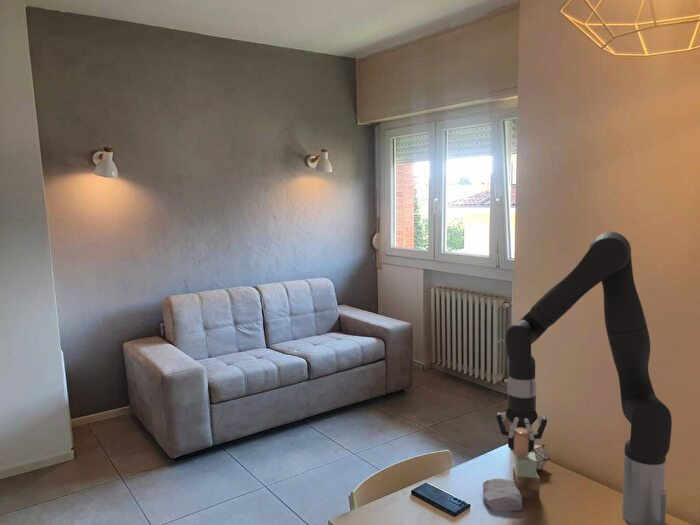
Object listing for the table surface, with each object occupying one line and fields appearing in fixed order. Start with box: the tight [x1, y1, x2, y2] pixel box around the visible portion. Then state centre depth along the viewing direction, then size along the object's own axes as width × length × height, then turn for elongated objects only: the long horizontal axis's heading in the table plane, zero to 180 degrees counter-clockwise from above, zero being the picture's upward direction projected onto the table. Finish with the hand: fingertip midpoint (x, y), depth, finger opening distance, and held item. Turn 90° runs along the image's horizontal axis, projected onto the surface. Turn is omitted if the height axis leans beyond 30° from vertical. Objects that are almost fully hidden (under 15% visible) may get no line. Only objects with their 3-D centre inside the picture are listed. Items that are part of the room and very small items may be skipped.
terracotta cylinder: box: [512, 428, 529, 456], centre depth 150 cm, size 4×4×6 cm
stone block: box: [482, 478, 523, 512], centre depth 149 cm, size 12×5×10 cm
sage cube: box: [515, 452, 537, 478], centre depth 151 cm, size 5×5×5 cm
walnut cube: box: [512, 466, 541, 500], centre depth 152 cm, size 6×6×6 cm
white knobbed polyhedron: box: [531, 443, 551, 473], centre depth 164 cm, size 9×8×10 cm
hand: (521, 449), depth 150 cm, fingers closed on terracotta cylinder, 4 cm apart
